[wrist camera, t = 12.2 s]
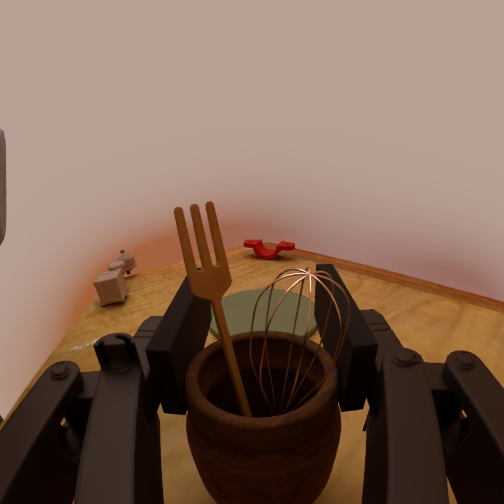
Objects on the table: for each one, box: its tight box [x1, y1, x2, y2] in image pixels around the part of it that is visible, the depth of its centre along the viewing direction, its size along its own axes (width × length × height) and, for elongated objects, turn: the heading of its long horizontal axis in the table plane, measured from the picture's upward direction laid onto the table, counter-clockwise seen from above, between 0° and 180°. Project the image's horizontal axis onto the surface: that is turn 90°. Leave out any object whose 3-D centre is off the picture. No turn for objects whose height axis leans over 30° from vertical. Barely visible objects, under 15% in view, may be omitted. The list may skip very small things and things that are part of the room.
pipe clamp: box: [244, 240, 295, 259], centre depth 47 cm, size 8×3×2 cm, turn 70°
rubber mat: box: [209, 289, 317, 339], centre depth 30 cm, size 11×11×1 cm
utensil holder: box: [174, 201, 350, 504], centre depth 10 cm, size 6×6×12 cm
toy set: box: [93, 250, 137, 306], centre depth 38 cm, size 12×3×4 cm, turn 11°
